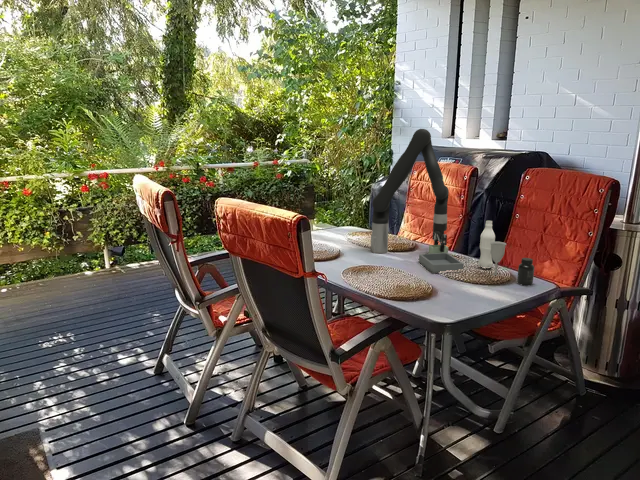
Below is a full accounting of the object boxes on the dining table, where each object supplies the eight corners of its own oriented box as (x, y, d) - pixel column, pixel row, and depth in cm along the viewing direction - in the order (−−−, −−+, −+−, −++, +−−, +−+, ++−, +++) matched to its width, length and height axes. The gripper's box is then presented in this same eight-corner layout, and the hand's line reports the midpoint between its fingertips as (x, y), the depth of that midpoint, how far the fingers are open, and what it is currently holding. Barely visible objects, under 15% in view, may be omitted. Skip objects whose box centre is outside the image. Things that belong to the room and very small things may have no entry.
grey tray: (432, 273, 244) (433, 265, 243) (418, 262, 263) (419, 254, 262) (463, 272, 246) (463, 263, 245) (446, 260, 266) (447, 252, 264)
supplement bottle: (532, 282, 231) (535, 258, 228) (532, 286, 225) (535, 262, 222) (517, 280, 234) (519, 256, 231) (516, 284, 228) (519, 260, 225)
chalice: (502, 277, 237) (506, 242, 233) (503, 282, 231) (506, 245, 227) (487, 276, 240) (490, 241, 235) (486, 280, 234) (490, 244, 229)
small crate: (432, 257, 271) (432, 248, 270) (428, 254, 277) (428, 245, 276) (447, 256, 273) (448, 247, 271) (443, 253, 278) (443, 244, 277)
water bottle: (493, 267, 254) (497, 220, 248) (491, 271, 248) (495, 223, 242) (478, 265, 257) (482, 219, 251) (476, 269, 251) (480, 221, 244)
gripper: (428, 219, 276) (427, 247, 280) (438, 224, 263) (437, 253, 267) (441, 218, 277) (440, 246, 282) (452, 223, 264) (450, 252, 268)
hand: (439, 249), depth 274 cm, fingers open, 8 cm apart
